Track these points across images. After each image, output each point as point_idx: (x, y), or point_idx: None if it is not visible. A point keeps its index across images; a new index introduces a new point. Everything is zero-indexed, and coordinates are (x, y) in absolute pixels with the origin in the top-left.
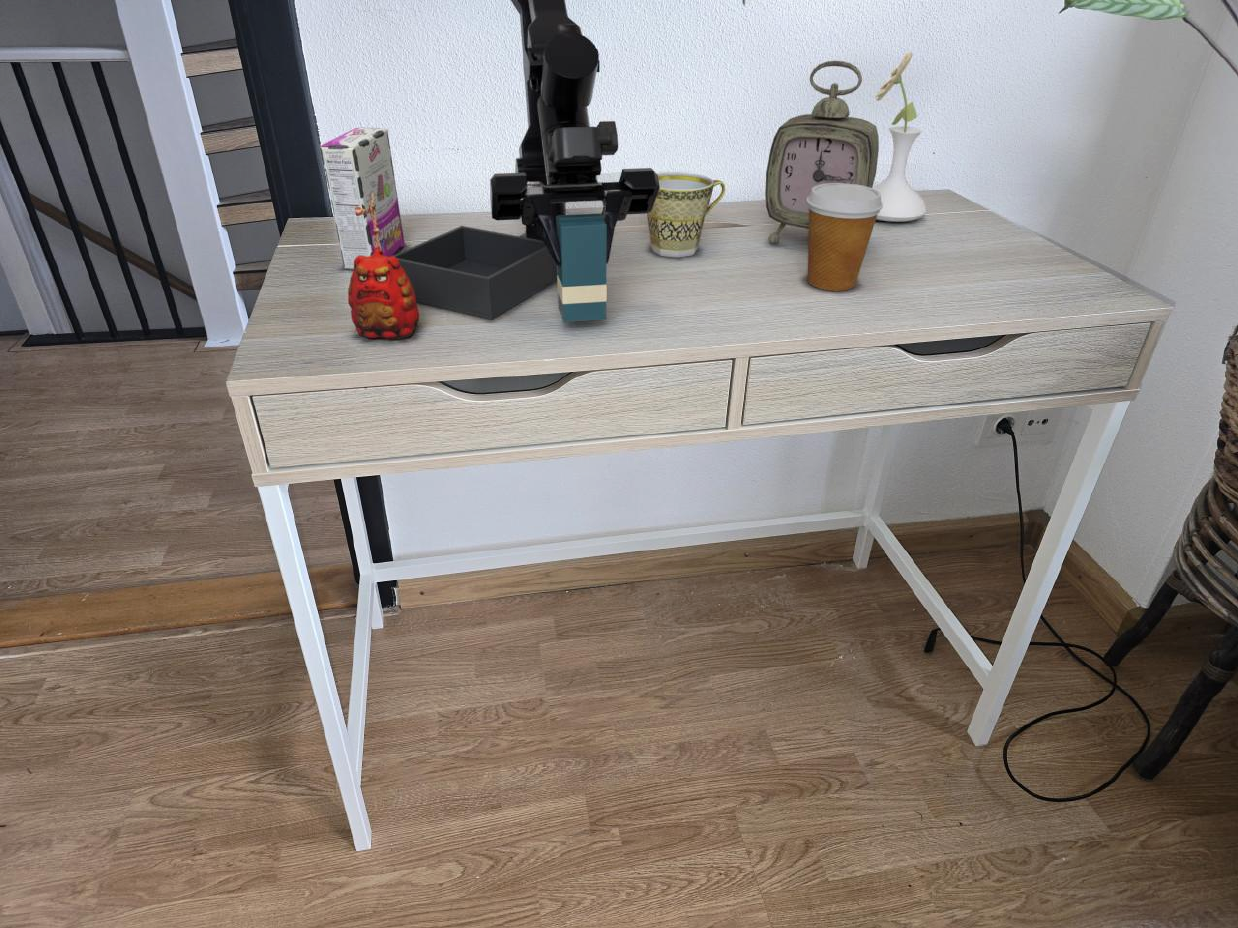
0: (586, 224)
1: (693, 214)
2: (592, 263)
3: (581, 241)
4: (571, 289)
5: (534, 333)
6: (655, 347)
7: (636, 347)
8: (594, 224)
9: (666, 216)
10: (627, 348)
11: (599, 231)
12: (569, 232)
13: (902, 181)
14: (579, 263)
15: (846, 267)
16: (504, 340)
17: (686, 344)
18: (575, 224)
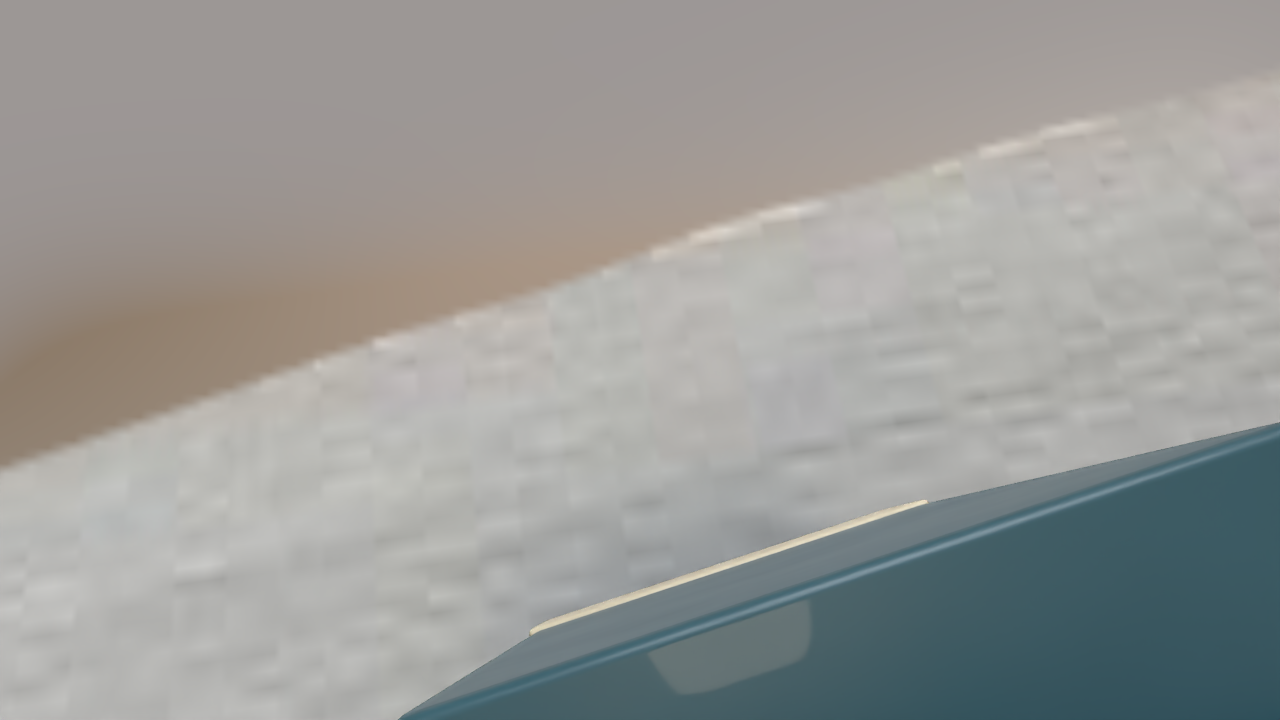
0: (828, 661)
1: None
2: (666, 596)
3: (846, 550)
4: (842, 525)
5: None
6: (244, 427)
7: (360, 412)
8: (654, 682)
9: None
10: (414, 390)
11: (553, 657)
12: (1094, 477)
13: None
14: (815, 547)
15: None
16: (1171, 402)
17: (48, 497)
18: (1062, 613)
